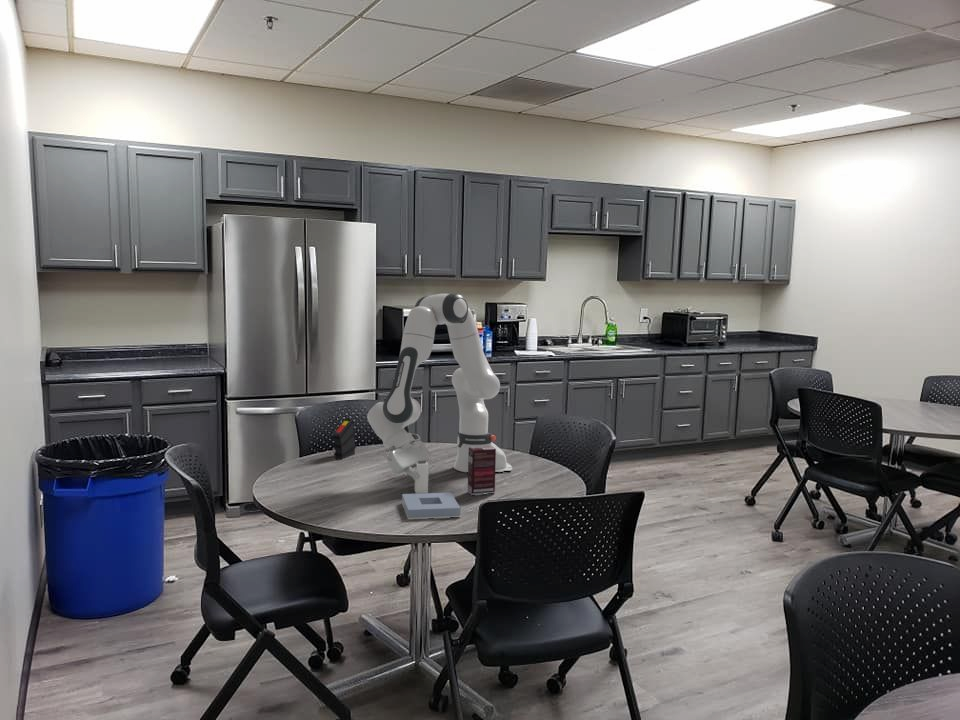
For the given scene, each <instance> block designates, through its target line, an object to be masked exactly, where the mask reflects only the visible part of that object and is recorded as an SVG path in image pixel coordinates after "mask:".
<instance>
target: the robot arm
mask: <svg viewBox="0 0 960 720" xmlns="http://www.w3.org/2000/svg"><path fill="white" fill-rule="evenodd" d="M438 325H439V326H441V325H446V327H447V332H448V336H449V342H450V345H451V349H452V354H453V356H454V357H453V358H454V359H455V360H456V362H457V364H458V365H459V368H457V369H456V370H455V371H454V372H453V374H452V376H451V384H452V386H453V389H454V391H455V394H456V398H457V399H456V400H457V403H458V411H459V427H458V429H459V430H458V432H457V441H456V442H457V443H456V444H457V445H456V446H457V453H456V458H455V462H454V465H453V469H455V470H456V471H459V472H462V473H467V472H468V455H469V447H485V446H492V447H494V448H495V449H496V464H495V472H503V471H510V470H512V471H513V466H512V465H511V464H510V463H509V462H507V457H506V454H505V452H504V451H503V450H502V449H501V448H500V447H498V445H496V444H495V443H493V442H495V441H496V439H497V437H496V435H494V434H491V433H490V432H489V430H488V429H489V412H488V408H486V405H485V401H484V400H492V399H494V398H495V397H496V396H497V395H498V394H499V392H500V389H501V382H500V379H499V377H497V375H496V374H495V372H494V371H493V370H492V369H493V368H491V366H490V363H489V362H488V359H487V357H486V355H485V352H484V349H483V346H482V342H481V339H480V338H481V337H480V333H479V329H478V326H477V323H476V320H475V317H474V314H473V313H472V309H471V308H470V307H469V305H468V303H467V300H466V298H465V297H464V296H463V295H461V294H458V293H437V294H433V295H425V296H423V297H421V298H419V299H418V300H417V301H416V303H415V305H414V307H413V308H411V310H410V311H409V313H408V315H407V319H406V320H405V325H404V328H403V332H402V333H403V334H402V339H401V345H400V351H399V356H398V361H397V364H396V369H395V373H394V378H393V382H392V385H391V389H390V391H389V393H388V394H387V396H386V397H385V399H384V401H379V402H377V403H375V404H374V405H372V407H371V408H370V409H369V410H368V412H367V416H366V417H367V422H368V424H369V425H370V427H371V429H372V430H373V432H374V433H375V435H376V436H377V437H379V439H381V440H382V443H383V444H382V445H384V447H385V449H384V456H385V458H386V461H387V463H388V465H389V467H390V468H391V471H393V472H394V473H395V474H396V475H398V474H401V473H403V472H405V473H406V474H407V475H408V476H410V477H411V478H412V479H413V480H414V481H415V480H417V479H418V478H419V477H420V476H419V475H418V473H415V470H414V469H415V464H416V463H417V462H418V461H423V460H425V461H427V462H429V461H430V460H431V459H432V453H431V451H430V450H429V448H428V447H427V446H426V444H425V443H424V442H423V441H421V437H420V435H419V434H417V433H410V432H408V431H406V430H405V427H408V426H410V425H411V424H414V423H416V422H417V421H418V420H419V418H420V417H421V415H422V408H421V407H422V406H421V404H420V402H419V401H418V400H417V399H415V398H414V397H412V396H411V391H412V387H413V382H414V377H415V373H416V371H417V368H418V367H419V366H420V365H421V364H422V363H423V362H425V361H427V360H428V359H429V358H430V356H431V353H432V350H433V347H434V341H435V334H436V328H437V326H438ZM413 468H414V469H413ZM503 473H504V472H503ZM430 474H431V470H430V469H429V470H428V475H430Z"/></svg>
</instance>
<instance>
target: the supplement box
mask: <svg viewBox="0 0 960 720" xmlns="http://www.w3.org/2000/svg"><path fill="white" fill-rule="evenodd" d="M495 464H496V449H495V448H494V447H492V446H485V447H469V455H468V473H467V493H468V492H469V493H470V494H471V495H470V494H469V493H468V494H469V495H470V496H472V495H475V496H479V495H478V494H484V493H495V492H496V473H495Z"/></svg>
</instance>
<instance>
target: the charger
mask: <svg viewBox="0 0 960 720" xmlns="http://www.w3.org/2000/svg"><path fill="white" fill-rule="evenodd" d="M429 466H430V465H429V461H425V460H423V461H418V462H417V463H416V464H415V467H414V472H415V473H418V475H419V476H420V477H419V478H418V479H417V480H414V490H413V491H414V492H415V494H421V493H429V474H428V470H430V469H429Z"/></svg>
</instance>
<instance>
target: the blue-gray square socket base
mask: <svg viewBox="0 0 960 720" xmlns="http://www.w3.org/2000/svg"><path fill="white" fill-rule="evenodd" d="M401 504H402V507H403V510H404V512H405V515H406V518H407V520H427V519H428V518H434V519H451V518H450V517H459V518H461V511H462V510H461V506H460V505H459V503H458V502H457V500H456V499H455V497H454V495H453V493H452V492H432V493H431V492H430V493H429V492H428V493H402V494H401Z"/></svg>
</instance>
